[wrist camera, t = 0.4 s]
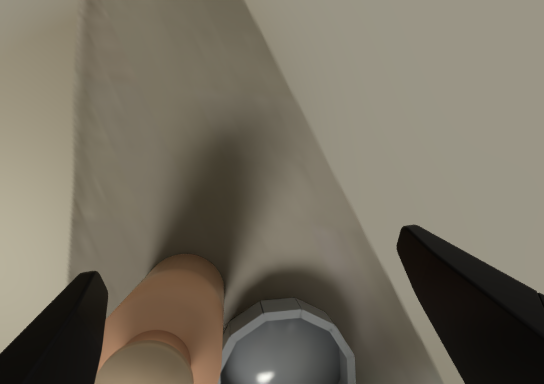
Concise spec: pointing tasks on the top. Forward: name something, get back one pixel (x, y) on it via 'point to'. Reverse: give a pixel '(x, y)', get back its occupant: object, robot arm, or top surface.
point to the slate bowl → (285, 346)
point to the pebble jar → (167, 327)
